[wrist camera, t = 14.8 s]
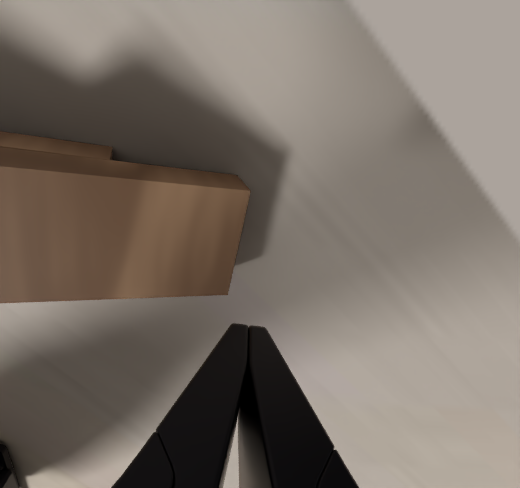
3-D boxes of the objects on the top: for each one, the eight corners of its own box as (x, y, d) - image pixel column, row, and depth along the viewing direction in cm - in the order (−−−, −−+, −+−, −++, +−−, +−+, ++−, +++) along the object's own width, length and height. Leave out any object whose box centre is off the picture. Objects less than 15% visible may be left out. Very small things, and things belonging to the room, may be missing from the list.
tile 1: (217, 271, 16) (1, 273, 12) (237, 175, 14) (-18, 145, 10) (227, 294, 14) (-14, 303, 11) (250, 191, 12) (-40, 162, 9)
